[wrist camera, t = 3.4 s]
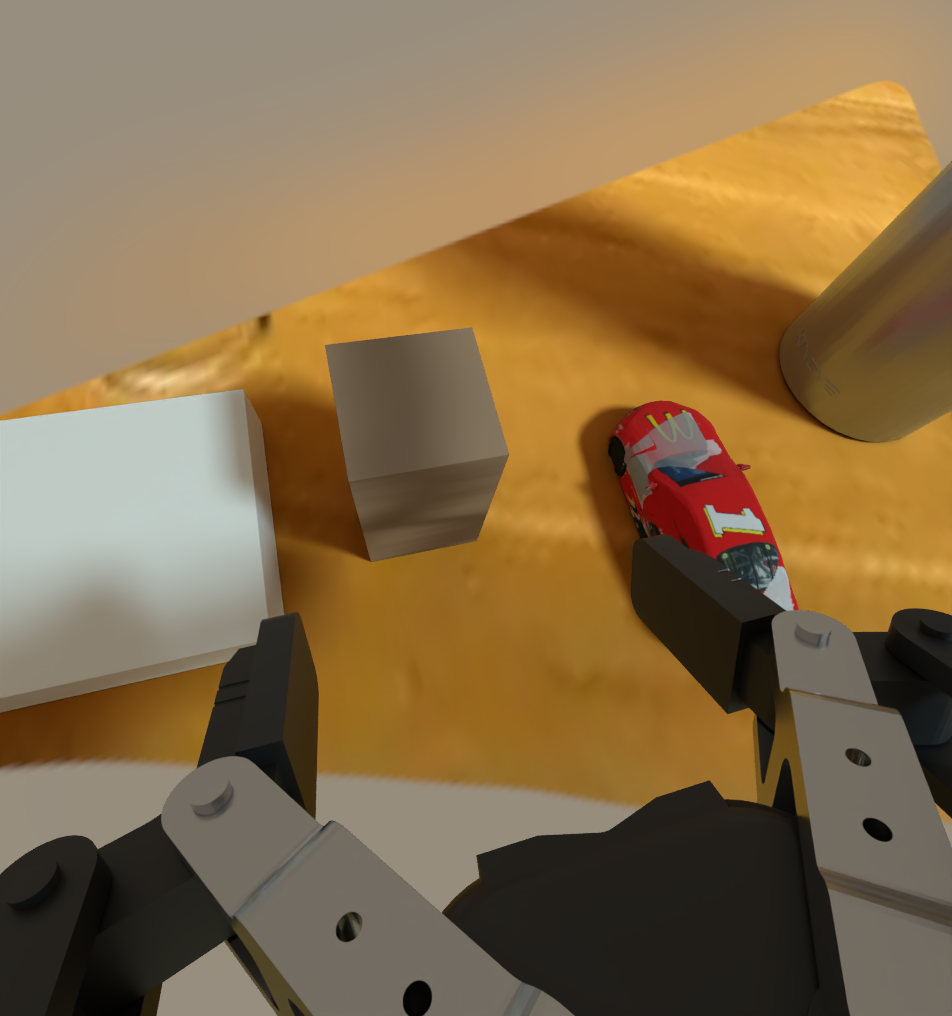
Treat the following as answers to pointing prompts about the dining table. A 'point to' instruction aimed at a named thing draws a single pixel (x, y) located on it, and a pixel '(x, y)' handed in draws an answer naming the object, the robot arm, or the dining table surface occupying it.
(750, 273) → the dining table surface
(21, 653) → the riser
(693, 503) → the race car
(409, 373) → the walnut block
